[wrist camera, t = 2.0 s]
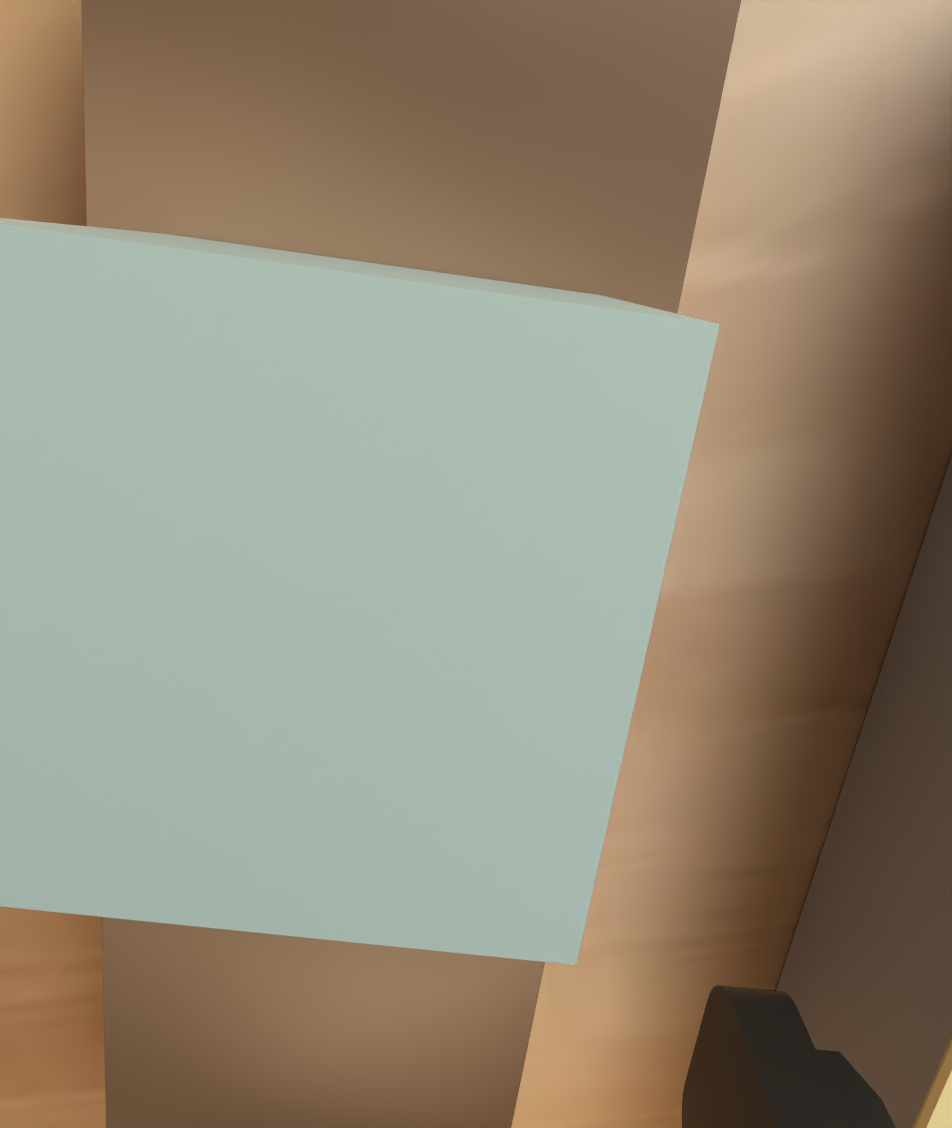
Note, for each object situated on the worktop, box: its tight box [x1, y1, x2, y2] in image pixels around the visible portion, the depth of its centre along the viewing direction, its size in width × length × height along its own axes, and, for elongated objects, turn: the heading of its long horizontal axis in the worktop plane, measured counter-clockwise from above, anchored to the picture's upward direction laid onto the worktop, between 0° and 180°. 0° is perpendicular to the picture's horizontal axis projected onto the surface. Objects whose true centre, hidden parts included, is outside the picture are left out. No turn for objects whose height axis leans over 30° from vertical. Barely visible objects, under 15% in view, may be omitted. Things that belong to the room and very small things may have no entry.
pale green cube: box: [0, 218, 720, 965], centre depth 6 cm, size 4×4×4 cm
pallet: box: [82, 0, 741, 1128], centre depth 11 cm, size 16×6×4 cm, turn 173°
